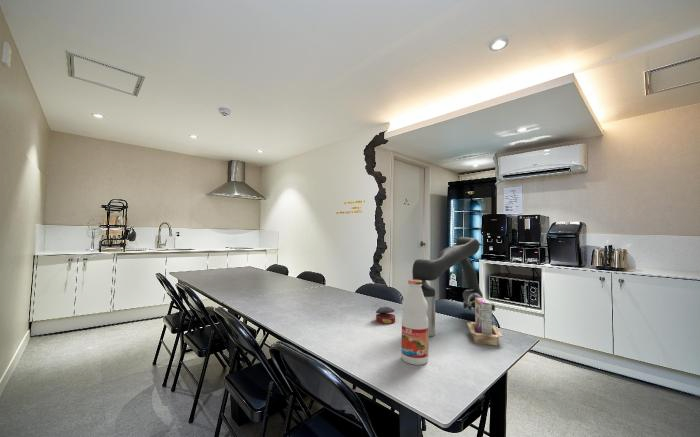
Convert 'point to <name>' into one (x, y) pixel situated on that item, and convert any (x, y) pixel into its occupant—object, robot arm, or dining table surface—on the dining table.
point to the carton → (484, 335)
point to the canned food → (385, 316)
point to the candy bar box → (483, 316)
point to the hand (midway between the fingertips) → (480, 309)
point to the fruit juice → (415, 325)
